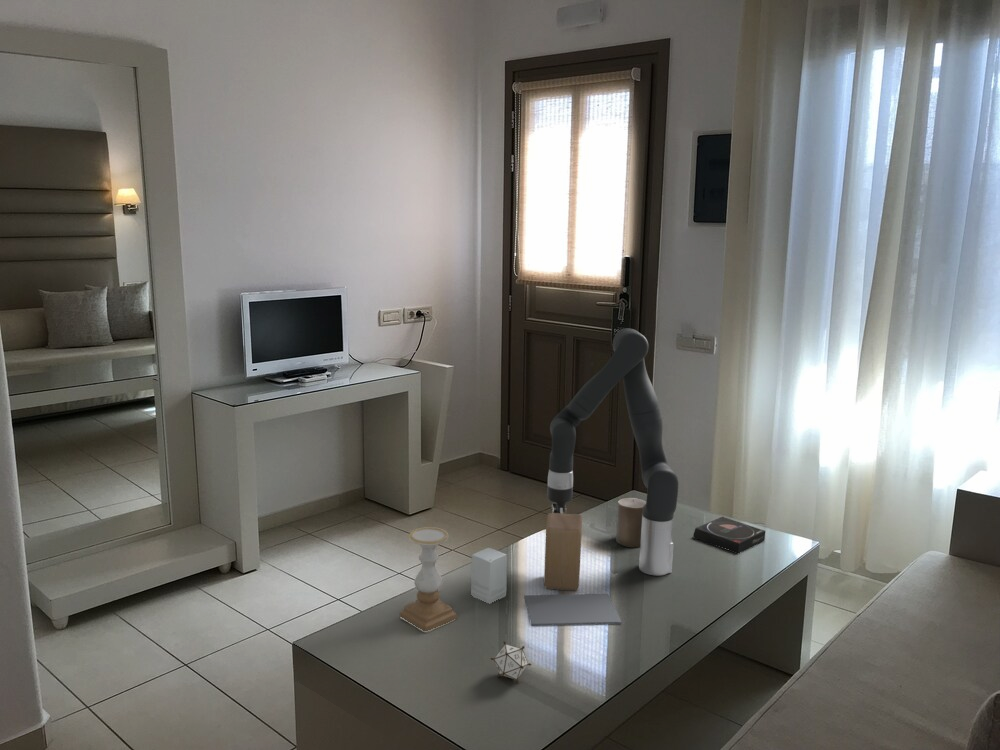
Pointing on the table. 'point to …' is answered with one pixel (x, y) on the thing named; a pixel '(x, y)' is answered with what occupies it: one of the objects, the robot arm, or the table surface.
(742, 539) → the portable cd player
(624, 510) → the pillar candle
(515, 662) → the game die
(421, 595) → the candle holder
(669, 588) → the table surface
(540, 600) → the mat
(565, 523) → the block
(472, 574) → the supplement box
